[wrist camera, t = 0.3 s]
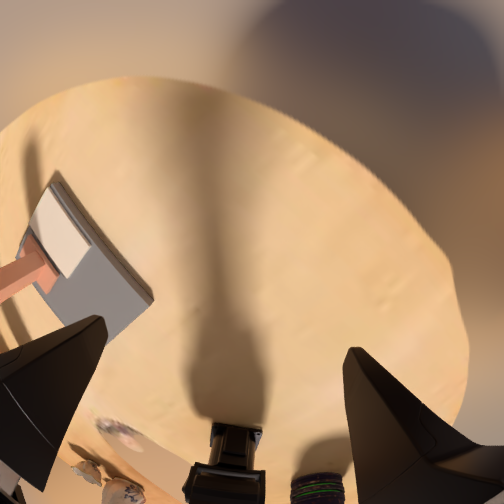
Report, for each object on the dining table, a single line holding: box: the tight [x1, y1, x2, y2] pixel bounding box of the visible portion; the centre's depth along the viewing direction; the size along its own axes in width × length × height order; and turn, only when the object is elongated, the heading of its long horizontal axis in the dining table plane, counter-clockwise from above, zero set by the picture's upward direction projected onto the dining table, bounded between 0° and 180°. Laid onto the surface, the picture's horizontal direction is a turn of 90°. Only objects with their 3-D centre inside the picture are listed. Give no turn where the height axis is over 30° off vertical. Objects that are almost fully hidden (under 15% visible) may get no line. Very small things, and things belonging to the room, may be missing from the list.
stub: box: [0, 234, 60, 303], centre depth 18 cm, size 6×4×11 cm, turn 40°
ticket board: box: [15, 182, 154, 346], centre depth 24 cm, size 16×12×2 cm
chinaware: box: [71, 460, 146, 504], centre depth 37 cm, size 28×17×17 cm, turn 13°
